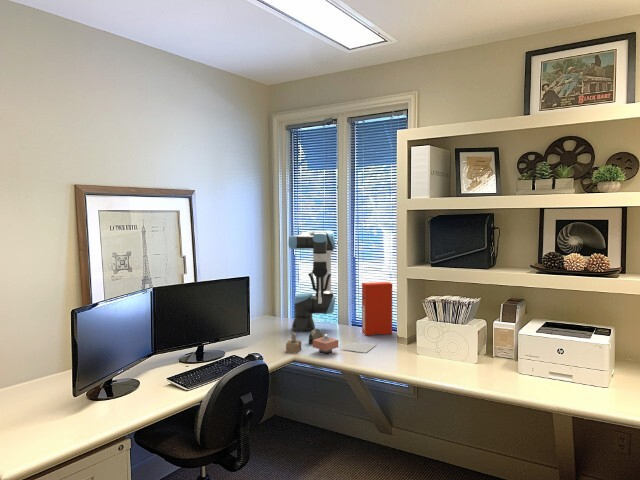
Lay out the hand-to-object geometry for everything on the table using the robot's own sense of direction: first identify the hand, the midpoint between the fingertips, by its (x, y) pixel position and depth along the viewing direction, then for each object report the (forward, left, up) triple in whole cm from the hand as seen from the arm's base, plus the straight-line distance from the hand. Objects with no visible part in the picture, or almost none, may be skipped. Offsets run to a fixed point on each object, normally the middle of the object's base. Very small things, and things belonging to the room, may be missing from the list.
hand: (320, 303), depth 267 cm
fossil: (-12, -4, -27) cm, 30 cm away
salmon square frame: (+5, +4, -23) cm, 24 cm away
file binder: (-40, +29, -27) cm, 56 cm away
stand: (+5, -14, -26) cm, 30 cm away
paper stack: (-2, +25, -27) cm, 37 cm away
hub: (+5, +4, -26) cm, 27 cm away
